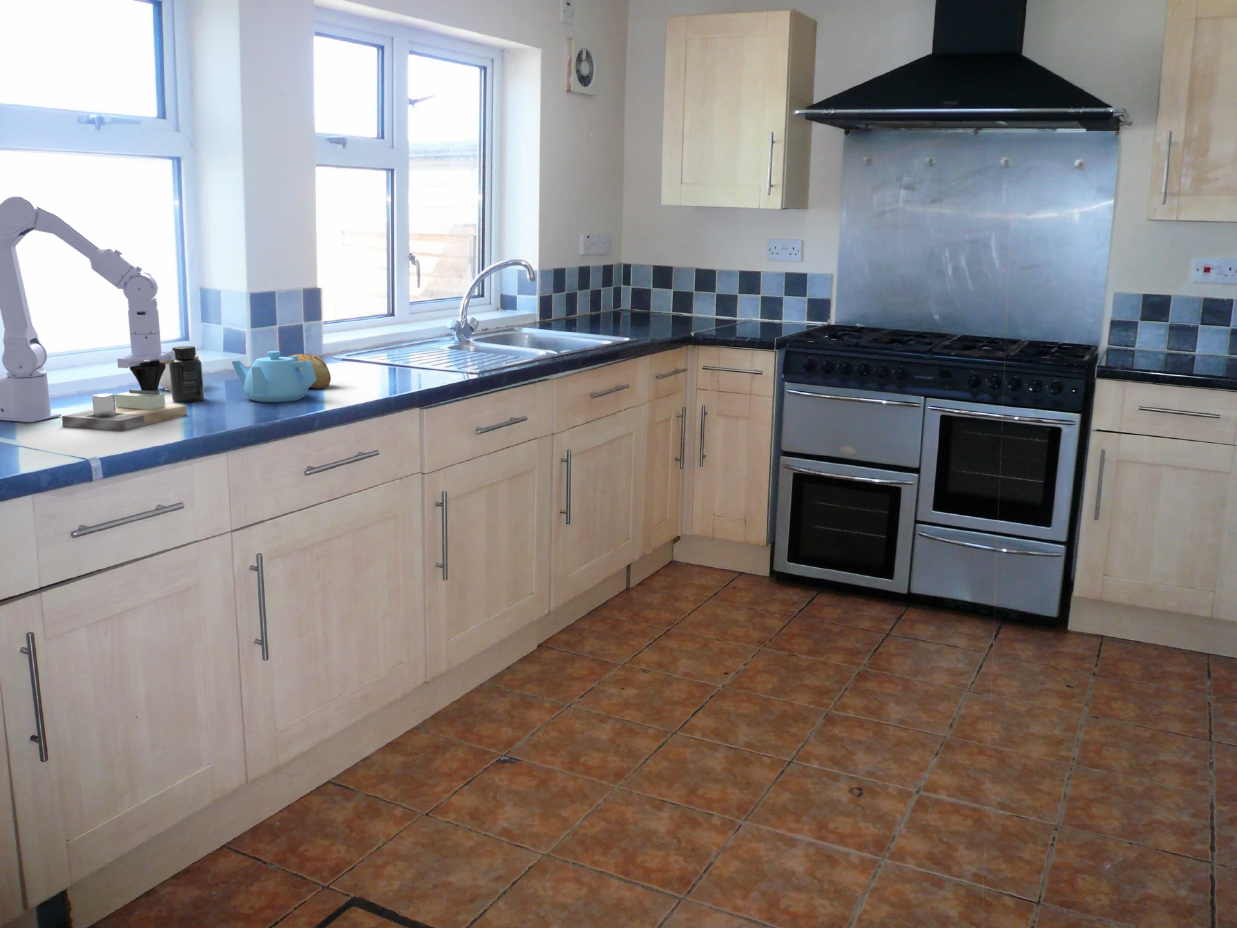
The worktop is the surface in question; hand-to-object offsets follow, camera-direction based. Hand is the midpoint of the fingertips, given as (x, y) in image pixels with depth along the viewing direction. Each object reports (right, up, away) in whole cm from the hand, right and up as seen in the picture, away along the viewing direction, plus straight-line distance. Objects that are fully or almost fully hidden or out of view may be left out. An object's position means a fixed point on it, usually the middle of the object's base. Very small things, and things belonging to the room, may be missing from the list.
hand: (150, 398), depth 233 cm
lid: (-1, -2, -3) cm, 3 cm away
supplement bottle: (+1, 0, +18) cm, 18 cm away
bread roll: (+21, +5, +39) cm, 45 cm away
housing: (-2, -5, -6) cm, 8 cm away
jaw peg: (-4, -6, -11) cm, 13 cm away
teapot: (+19, +1, +23) cm, 30 cm away
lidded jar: (-8, +4, +35) cm, 36 cm away
